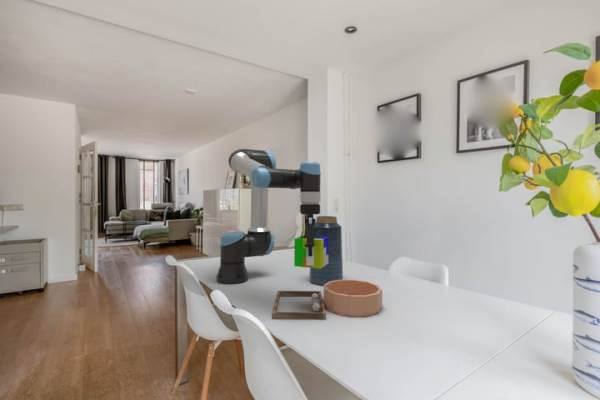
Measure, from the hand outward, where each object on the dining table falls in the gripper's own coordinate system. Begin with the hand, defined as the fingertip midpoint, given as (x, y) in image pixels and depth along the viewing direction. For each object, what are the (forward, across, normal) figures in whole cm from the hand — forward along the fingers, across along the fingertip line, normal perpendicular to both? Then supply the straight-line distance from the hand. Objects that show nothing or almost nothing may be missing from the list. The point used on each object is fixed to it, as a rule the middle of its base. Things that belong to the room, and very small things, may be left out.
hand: (310, 261), depth 112 cm
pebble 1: (+17, -6, +2) cm, 18 cm away
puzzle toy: (+1, 0, +1) cm, 1 cm away
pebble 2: (+17, -1, +2) cm, 17 cm away
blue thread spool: (+17, -35, +8) cm, 39 cm away
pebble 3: (+17, +5, +2) cm, 18 cm away
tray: (+17, 0, -4) cm, 17 cm away
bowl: (+17, -2, +16) cm, 23 cm away
